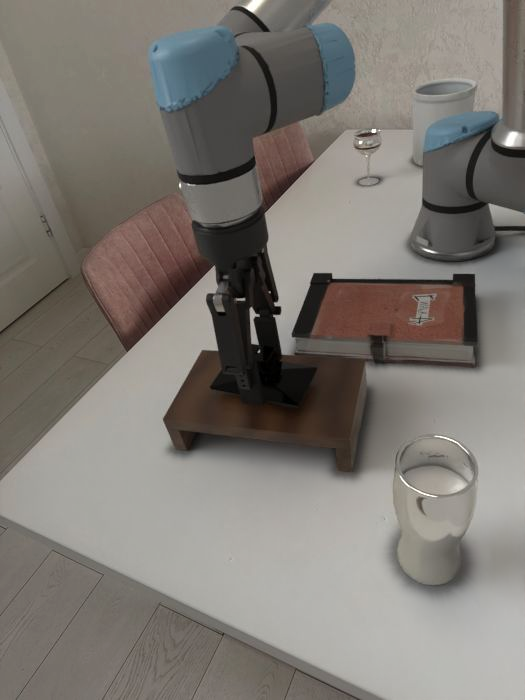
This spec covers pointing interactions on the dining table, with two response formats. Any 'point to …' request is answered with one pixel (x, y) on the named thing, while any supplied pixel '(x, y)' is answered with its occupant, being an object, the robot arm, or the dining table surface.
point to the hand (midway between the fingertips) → (263, 378)
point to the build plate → (273, 378)
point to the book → (390, 320)
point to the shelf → (276, 408)
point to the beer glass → (433, 505)
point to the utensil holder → (438, 106)
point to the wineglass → (367, 148)
